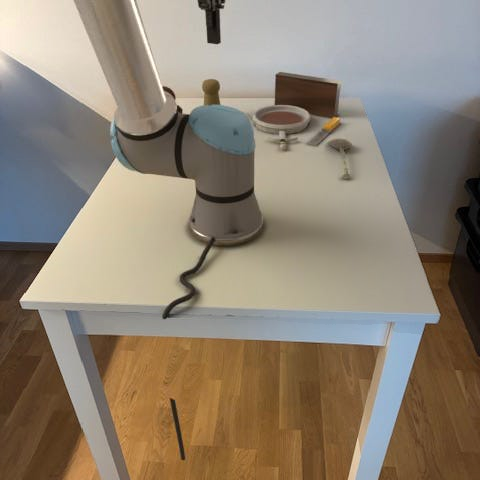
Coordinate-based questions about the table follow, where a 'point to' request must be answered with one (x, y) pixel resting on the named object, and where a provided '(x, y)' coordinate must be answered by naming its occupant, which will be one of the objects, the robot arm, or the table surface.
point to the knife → (325, 130)
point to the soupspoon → (342, 152)
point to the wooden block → (308, 93)
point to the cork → (211, 92)
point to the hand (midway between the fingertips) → (214, 42)
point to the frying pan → (281, 121)
